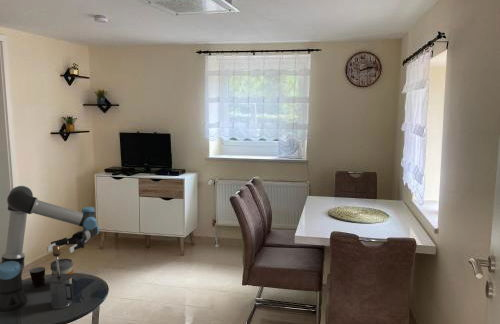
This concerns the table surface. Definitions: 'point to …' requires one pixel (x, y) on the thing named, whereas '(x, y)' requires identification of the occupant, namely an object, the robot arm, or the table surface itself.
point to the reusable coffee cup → (63, 267)
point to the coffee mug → (38, 276)
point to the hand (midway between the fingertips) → (58, 250)
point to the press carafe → (60, 290)
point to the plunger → (56, 253)
